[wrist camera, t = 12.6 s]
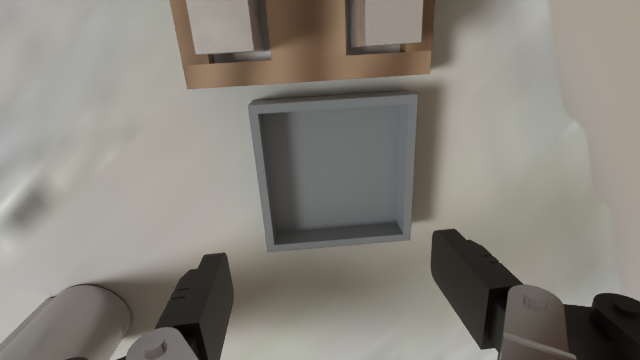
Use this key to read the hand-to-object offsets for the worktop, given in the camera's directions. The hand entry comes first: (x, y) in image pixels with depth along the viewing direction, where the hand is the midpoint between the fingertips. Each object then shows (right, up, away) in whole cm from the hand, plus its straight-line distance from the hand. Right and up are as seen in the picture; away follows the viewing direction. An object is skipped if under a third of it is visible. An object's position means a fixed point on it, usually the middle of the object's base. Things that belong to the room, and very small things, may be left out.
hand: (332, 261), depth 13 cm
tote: (+1, +4, +23) cm, 24 cm away
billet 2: (+4, +18, +17) cm, 25 cm away
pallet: (-2, +18, +18) cm, 25 cm away
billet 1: (-8, +17, +16) cm, 25 cm away
